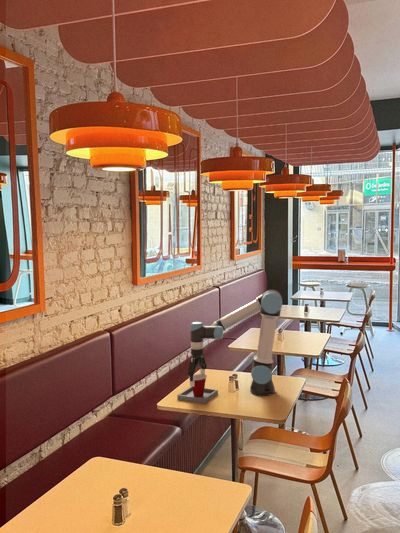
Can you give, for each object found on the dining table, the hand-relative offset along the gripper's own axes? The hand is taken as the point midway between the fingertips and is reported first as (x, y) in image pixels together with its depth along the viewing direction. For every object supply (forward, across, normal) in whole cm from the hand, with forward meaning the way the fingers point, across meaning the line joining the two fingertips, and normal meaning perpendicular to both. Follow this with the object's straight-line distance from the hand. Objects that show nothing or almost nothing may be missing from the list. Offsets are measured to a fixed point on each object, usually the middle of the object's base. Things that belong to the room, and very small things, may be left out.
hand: (197, 382), depth 296 cm
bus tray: (+9, 0, 0) cm, 9 cm away
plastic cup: (+8, 0, 0) cm, 8 cm away
